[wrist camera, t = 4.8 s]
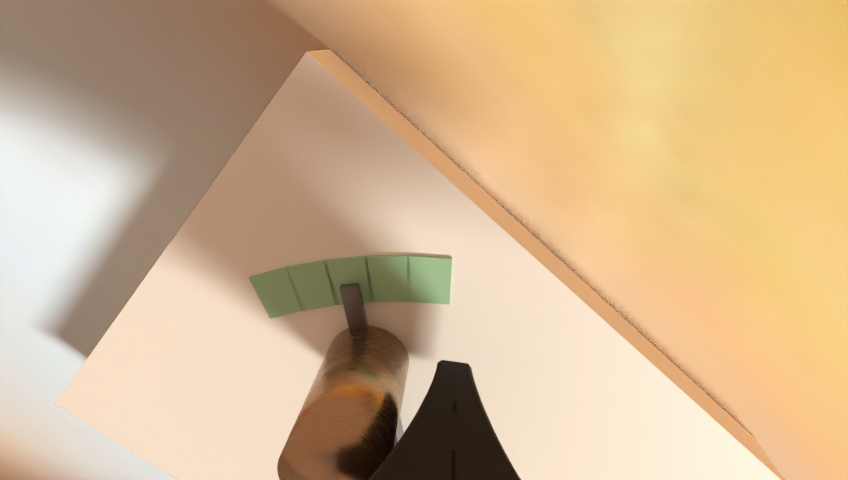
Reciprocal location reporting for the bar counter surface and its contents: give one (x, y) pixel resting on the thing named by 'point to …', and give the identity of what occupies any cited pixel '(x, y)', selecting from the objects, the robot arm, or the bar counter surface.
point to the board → (382, 312)
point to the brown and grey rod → (350, 403)
